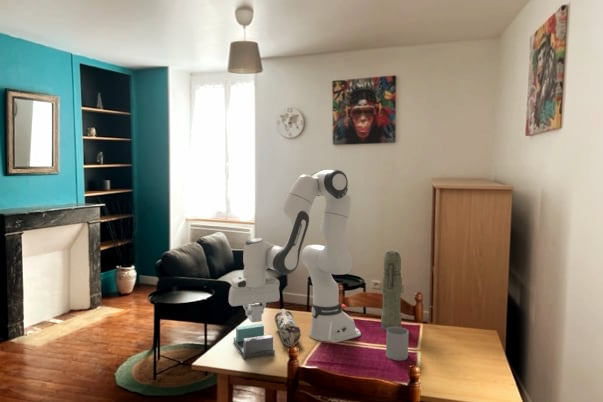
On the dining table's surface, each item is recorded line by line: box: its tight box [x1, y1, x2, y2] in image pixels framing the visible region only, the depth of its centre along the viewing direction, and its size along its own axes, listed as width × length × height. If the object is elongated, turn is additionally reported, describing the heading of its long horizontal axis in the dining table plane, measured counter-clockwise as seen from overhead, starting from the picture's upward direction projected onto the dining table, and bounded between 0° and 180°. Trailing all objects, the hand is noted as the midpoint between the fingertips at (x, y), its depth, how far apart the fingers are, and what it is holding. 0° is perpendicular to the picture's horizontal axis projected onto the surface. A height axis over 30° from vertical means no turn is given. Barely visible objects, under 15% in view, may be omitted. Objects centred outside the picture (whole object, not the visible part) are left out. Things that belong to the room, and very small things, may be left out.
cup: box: [385, 326, 409, 361], centre depth 170 cm, size 8×8×10 cm
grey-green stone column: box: [380, 250, 403, 332], centre depth 197 cm, size 9×12×35 cm
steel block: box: [247, 303, 263, 323], centre depth 173 cm, size 4×6×6 cm, turn 22°
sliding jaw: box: [235, 323, 265, 342], centre depth 181 cm, size 11×3×5 cm, turn 112°
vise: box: [233, 334, 276, 361], centre depth 176 cm, size 12×18×7 cm, turn 22°
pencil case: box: [274, 308, 302, 347], centre depth 189 cm, size 22×8×10 cm, turn 11°
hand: (254, 314), depth 173 cm, fingers closed on steel block, 4 cm apart
